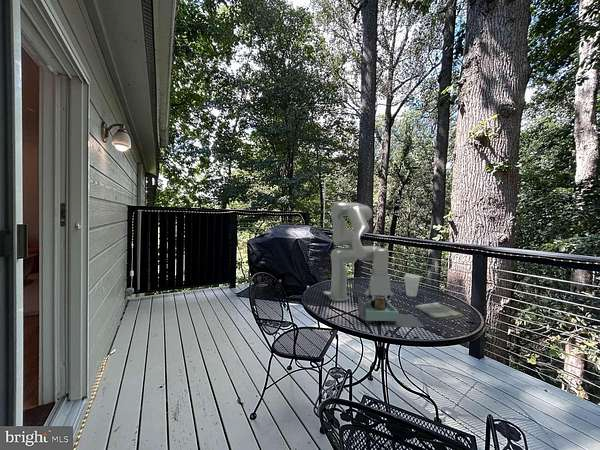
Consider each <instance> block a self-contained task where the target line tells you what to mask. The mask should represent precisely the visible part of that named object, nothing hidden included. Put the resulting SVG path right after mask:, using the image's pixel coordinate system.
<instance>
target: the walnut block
mask: <svg viewBox="0 0 600 450" xmlns="http://www.w3.org/2000/svg"><path fill="white" fill-rule="evenodd" d="M374 301H375V307H374V310H382V311H385V300H384V297H375V298H374Z"/></svg>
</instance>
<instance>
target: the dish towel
mask: <svg viewBox="0 0 600 450" xmlns="http://www.w3.org/2000/svg"><path fill="white" fill-rule="evenodd" d="M414 308H415V309H416V310H418V311H420V312H421V313H422V314H423V313H424V314H425V315H426V316H429V317H431V318H432V319H434V320H445V319H458V318H464V315H463V313H462V312H459V311H457V310H455V309H453V308H451V307H449V306H447V305H443V304H441V303H439V302H438V301H437V302H430V303H425V304H424V303H422V304H417V305H415V306H414Z"/></svg>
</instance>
